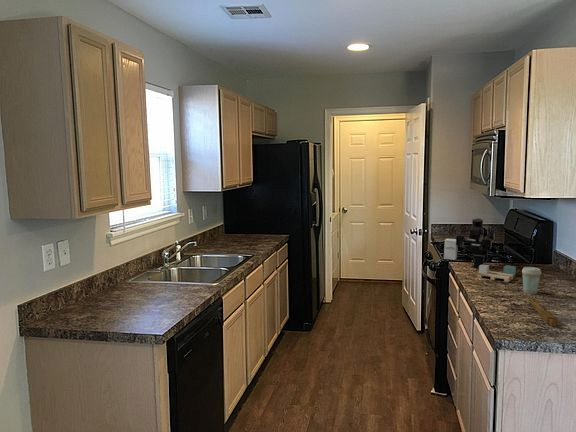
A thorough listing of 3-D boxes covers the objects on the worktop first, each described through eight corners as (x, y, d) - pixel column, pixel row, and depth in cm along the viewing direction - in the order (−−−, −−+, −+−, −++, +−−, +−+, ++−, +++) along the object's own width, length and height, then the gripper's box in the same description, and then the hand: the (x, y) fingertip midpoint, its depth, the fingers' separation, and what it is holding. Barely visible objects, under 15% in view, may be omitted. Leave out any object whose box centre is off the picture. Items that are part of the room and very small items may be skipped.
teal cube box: (505, 273, 269) (506, 265, 268) (515, 275, 266) (515, 266, 265) (503, 275, 265) (503, 266, 265) (512, 277, 262) (513, 268, 261)
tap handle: (536, 298, 214) (559, 320, 185) (535, 304, 215) (558, 328, 186) (528, 297, 215) (550, 320, 186) (528, 304, 215) (549, 327, 186)
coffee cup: (528, 295, 227) (529, 271, 226) (516, 290, 236) (518, 267, 234) (544, 294, 228) (545, 270, 227) (532, 289, 237) (533, 266, 235)
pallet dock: (482, 274, 268) (483, 269, 268) (513, 278, 258) (513, 274, 257) (477, 277, 261) (477, 272, 261) (508, 282, 251) (508, 277, 251)
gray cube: (481, 271, 264) (481, 264, 263) (488, 272, 261) (489, 265, 261) (478, 272, 261) (479, 265, 260) (486, 274, 258) (486, 266, 258)
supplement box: (443, 259, 307) (444, 239, 305) (445, 256, 313) (446, 238, 312) (455, 260, 303) (456, 240, 302) (457, 258, 310) (458, 238, 308)
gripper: (460, 222, 277) (453, 231, 264) (494, 227, 267) (489, 236, 255) (459, 240, 280) (452, 249, 268) (493, 245, 270) (487, 255, 258)
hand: (470, 247), depth 262 cm, fingers open, 9 cm apart
